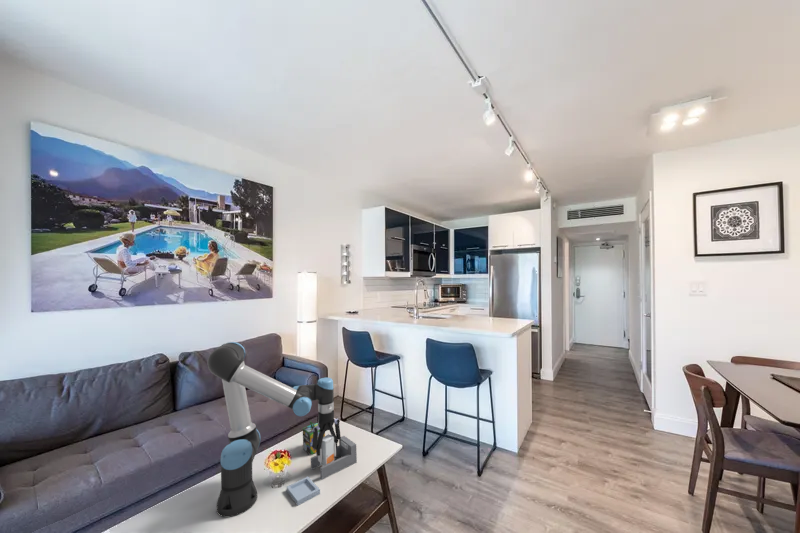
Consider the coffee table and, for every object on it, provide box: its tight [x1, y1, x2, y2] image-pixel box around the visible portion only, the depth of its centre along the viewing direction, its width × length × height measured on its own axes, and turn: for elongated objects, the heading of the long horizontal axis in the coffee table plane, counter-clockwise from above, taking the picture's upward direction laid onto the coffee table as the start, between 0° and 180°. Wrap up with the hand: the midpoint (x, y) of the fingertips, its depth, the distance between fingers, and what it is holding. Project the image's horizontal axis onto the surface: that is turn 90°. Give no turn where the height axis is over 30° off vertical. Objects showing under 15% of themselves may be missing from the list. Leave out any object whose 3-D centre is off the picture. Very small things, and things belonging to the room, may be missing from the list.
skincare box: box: [320, 433, 335, 466], centre depth 152 cm, size 6×4×12 cm
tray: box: [286, 476, 321, 506], centre depth 136 cm, size 10×12×2 cm
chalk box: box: [302, 420, 326, 456], centre depth 170 cm, size 9×9×15 cm
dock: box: [310, 435, 358, 480], centre depth 154 cm, size 19×12×9 cm, turn 131°
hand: (327, 458), depth 152 cm, fingers closed on skincare box, 7 cm apart
